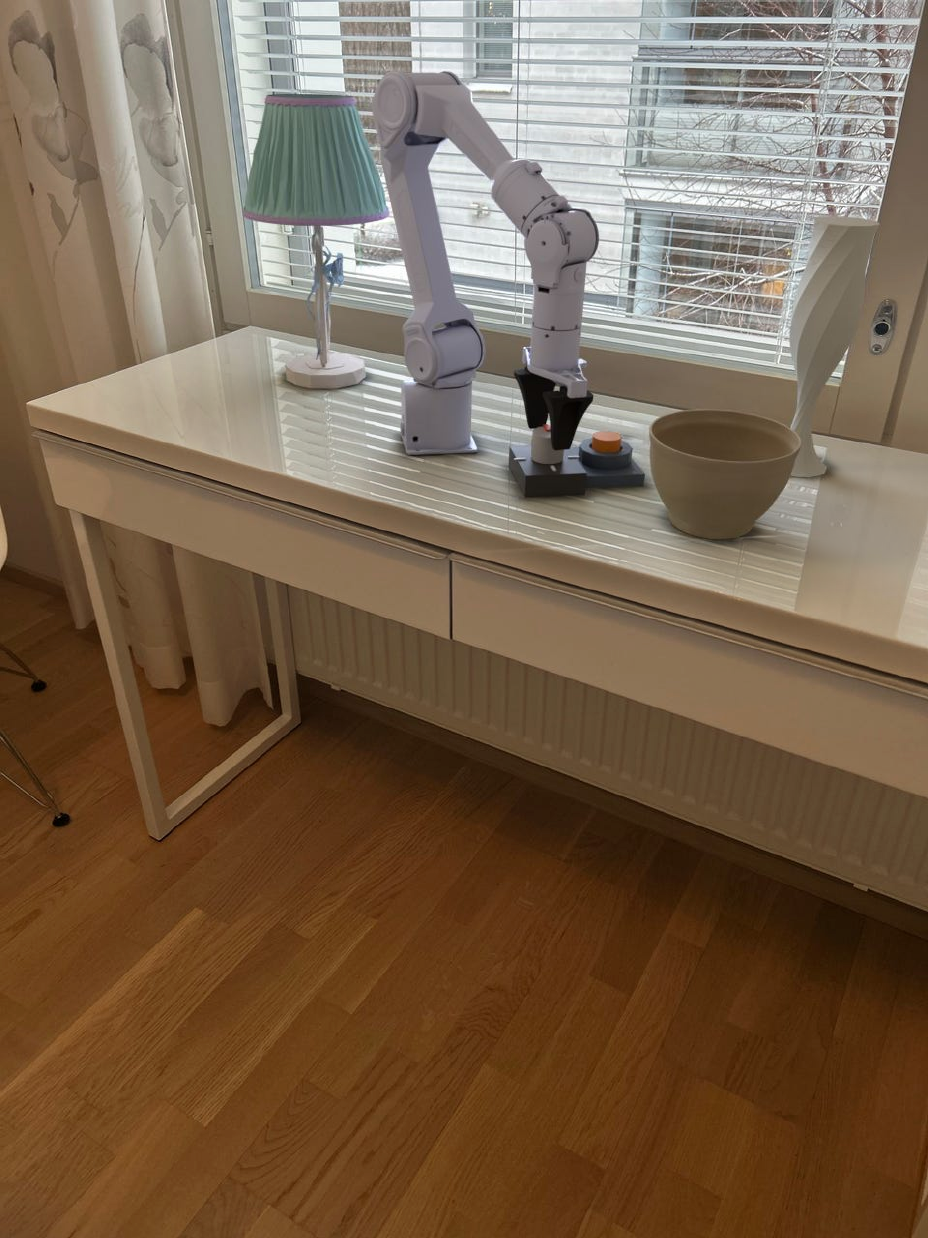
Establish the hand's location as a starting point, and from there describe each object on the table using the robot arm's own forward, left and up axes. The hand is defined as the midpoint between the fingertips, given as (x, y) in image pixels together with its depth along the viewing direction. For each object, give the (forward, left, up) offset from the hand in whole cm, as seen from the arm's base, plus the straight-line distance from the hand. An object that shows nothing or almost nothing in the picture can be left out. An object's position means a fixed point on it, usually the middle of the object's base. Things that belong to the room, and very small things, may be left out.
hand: (548, 437), depth 115 cm
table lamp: (-26, +46, -6) cm, 53 cm away
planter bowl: (+16, -14, -6) cm, 22 cm away
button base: (+8, +2, -6) cm, 10 cm away
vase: (+34, +2, -6) cm, 35 cm away
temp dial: (0, 0, -3) cm, 3 cm away
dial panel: (0, 0, -6) cm, 6 cm away
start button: (+8, +2, -2) cm, 9 cm away
